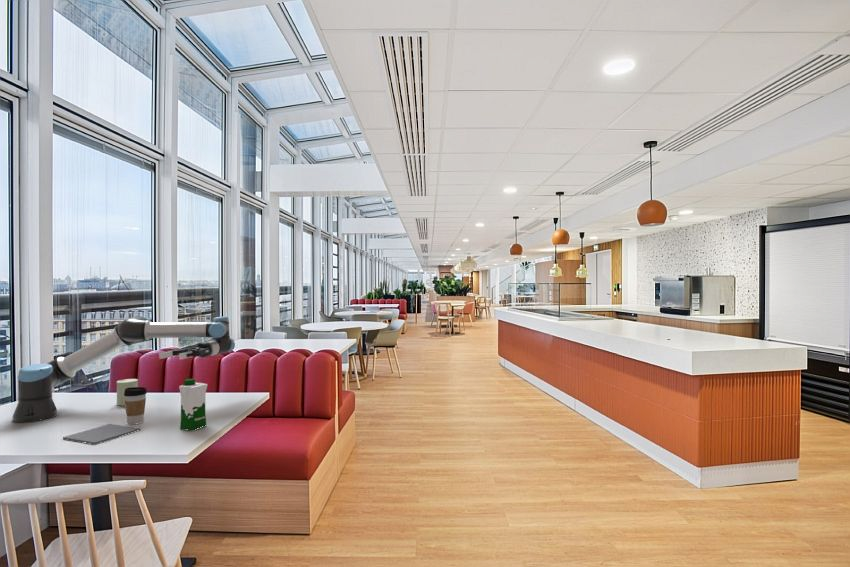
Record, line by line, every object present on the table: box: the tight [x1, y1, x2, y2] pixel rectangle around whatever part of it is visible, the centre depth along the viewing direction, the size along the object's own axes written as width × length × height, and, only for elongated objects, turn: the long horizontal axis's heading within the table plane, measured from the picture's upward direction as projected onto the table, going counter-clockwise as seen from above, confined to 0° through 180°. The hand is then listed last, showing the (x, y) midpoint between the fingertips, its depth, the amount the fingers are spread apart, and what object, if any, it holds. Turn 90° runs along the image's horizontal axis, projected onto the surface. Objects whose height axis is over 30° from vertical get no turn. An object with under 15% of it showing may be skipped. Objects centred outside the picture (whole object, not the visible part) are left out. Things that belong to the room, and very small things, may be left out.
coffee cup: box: [124, 386, 148, 425], centre depth 194 cm, size 8×8×15 cm
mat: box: [62, 423, 141, 445], centre depth 178 cm, size 18×18×1 cm
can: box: [116, 378, 139, 406], centre depth 227 cm, size 9×9×12 cm
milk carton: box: [178, 378, 208, 431], centre depth 187 cm, size 9×9×20 cm
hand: (169, 356), depth 210 cm, fingers open, 13 cm apart
